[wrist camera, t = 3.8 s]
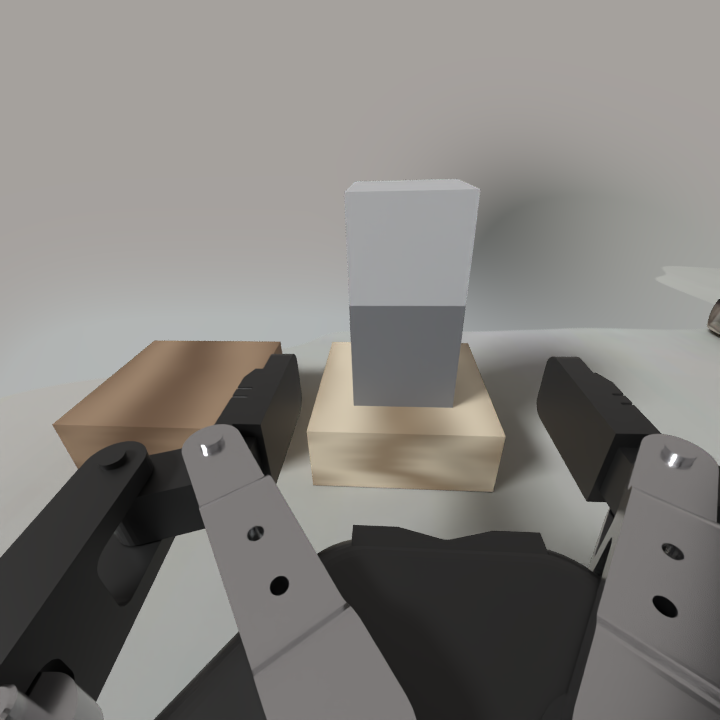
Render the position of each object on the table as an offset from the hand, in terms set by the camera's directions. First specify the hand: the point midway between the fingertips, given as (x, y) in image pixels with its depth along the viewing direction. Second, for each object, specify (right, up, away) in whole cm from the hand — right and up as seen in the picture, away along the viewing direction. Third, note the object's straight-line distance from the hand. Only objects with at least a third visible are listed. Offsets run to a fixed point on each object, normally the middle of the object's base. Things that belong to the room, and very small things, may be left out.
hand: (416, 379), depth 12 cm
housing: (+1, -1, +11) cm, 11 cm away
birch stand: (+1, -4, +13) cm, 14 cm away
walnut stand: (-13, -4, +14) cm, 19 cm away
